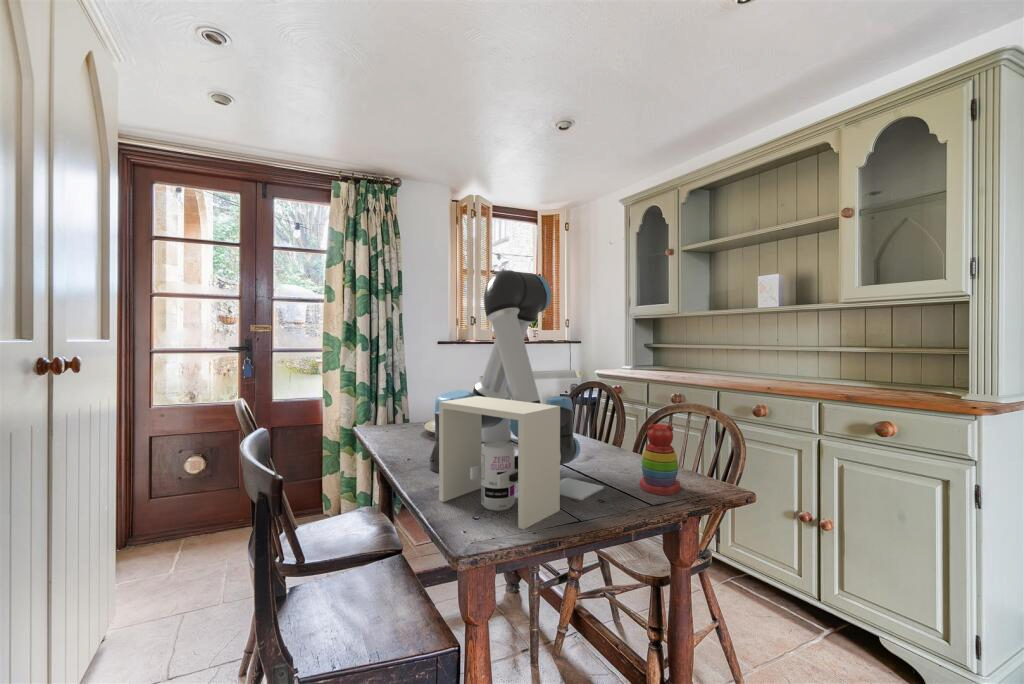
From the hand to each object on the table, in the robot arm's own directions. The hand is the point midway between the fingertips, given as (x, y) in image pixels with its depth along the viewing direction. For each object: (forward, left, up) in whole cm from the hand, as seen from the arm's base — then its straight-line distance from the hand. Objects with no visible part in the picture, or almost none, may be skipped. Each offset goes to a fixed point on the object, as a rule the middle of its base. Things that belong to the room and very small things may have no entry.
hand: (484, 477), depth 111 cm
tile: (+17, +22, -8) cm, 29 cm away
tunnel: (+2, +4, -8) cm, 9 cm away
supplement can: (+2, +4, -8) cm, 9 cm away
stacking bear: (+39, +30, -8) cm, 50 cm away
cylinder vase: (-24, +68, -8) cm, 73 cm away
